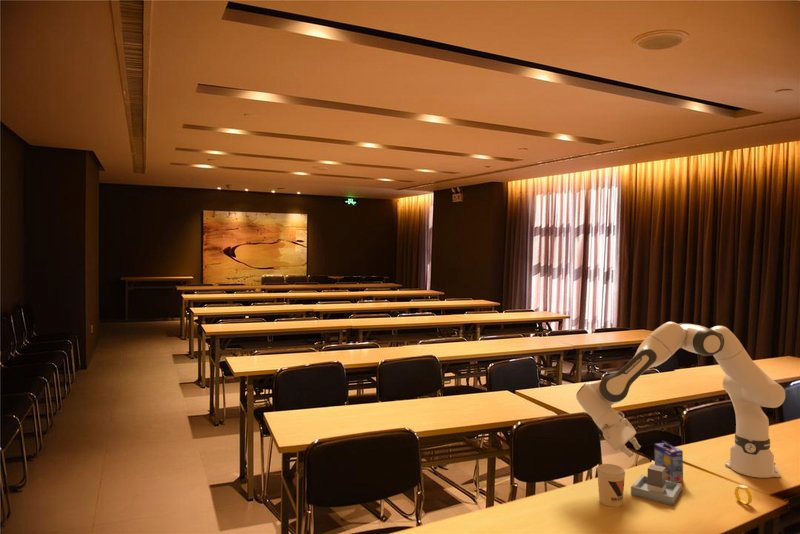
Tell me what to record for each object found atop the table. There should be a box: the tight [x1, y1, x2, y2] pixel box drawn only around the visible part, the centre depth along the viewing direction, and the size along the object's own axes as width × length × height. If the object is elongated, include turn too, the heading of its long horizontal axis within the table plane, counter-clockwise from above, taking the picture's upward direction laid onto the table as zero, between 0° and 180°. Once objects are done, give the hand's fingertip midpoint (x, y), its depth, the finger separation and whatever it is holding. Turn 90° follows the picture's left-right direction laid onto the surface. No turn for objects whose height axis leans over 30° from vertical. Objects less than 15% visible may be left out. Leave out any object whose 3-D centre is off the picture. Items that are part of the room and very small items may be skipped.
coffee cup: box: [596, 463, 626, 508], centre depth 193 cm, size 9×9×12 cm
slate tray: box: [630, 474, 683, 506], centre depth 200 cm, size 14×14×3 cm
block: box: [647, 463, 666, 493], centre depth 200 cm, size 5×5×8 cm
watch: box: [734, 484, 753, 505], centre depth 192 cm, size 6×3×6 cm, turn 15°
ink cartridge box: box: [654, 439, 684, 483], centre depth 213 cm, size 10×6×14 cm, turn 15°
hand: (635, 452), depth 204 cm, fingers open, 8 cm apart
